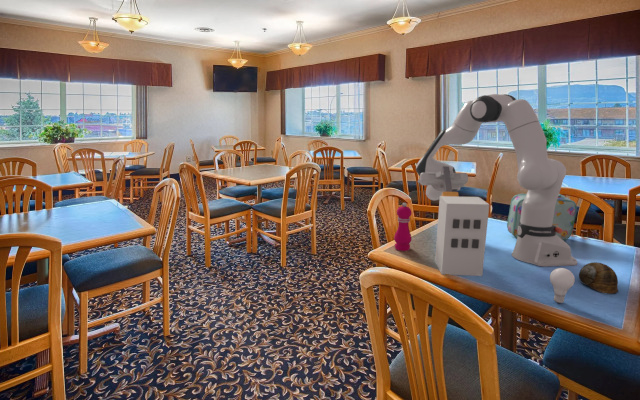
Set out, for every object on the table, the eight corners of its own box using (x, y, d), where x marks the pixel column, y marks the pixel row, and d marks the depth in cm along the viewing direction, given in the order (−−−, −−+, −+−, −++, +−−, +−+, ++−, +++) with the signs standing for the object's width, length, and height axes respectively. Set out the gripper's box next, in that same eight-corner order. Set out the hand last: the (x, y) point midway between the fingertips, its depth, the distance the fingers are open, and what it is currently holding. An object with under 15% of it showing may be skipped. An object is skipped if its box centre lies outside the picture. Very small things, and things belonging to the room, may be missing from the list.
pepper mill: (411, 252, 160) (413, 205, 155) (393, 250, 161) (395, 204, 156) (410, 246, 166) (413, 201, 162) (393, 245, 168) (395, 200, 163)
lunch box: (563, 235, 181) (569, 191, 176) (575, 243, 171) (582, 195, 166) (504, 234, 183) (509, 190, 178) (512, 241, 173) (518, 194, 168)
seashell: (570, 280, 132) (574, 259, 130) (594, 278, 134) (597, 257, 132) (599, 296, 121) (603, 272, 120) (624, 293, 123) (629, 270, 121)
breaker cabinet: (472, 263, 148) (478, 196, 142) (482, 276, 135) (490, 205, 130) (435, 261, 149) (439, 196, 143) (442, 275, 137) (447, 204, 131)
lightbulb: (567, 299, 119) (573, 266, 116) (573, 309, 113) (579, 274, 111) (544, 296, 121) (549, 263, 118) (548, 305, 115) (553, 271, 113)
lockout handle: (452, 169, 166) (454, 164, 163) (458, 214, 154) (460, 208, 151) (437, 169, 167) (439, 164, 163) (442, 213, 155) (444, 208, 152)
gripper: (416, 176, 177) (421, 165, 164) (462, 177, 176) (471, 165, 162) (417, 189, 176) (422, 179, 162) (463, 190, 174) (472, 179, 160)
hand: (447, 172), depth 162 cm, fingers closed on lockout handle, 2 cm apart
